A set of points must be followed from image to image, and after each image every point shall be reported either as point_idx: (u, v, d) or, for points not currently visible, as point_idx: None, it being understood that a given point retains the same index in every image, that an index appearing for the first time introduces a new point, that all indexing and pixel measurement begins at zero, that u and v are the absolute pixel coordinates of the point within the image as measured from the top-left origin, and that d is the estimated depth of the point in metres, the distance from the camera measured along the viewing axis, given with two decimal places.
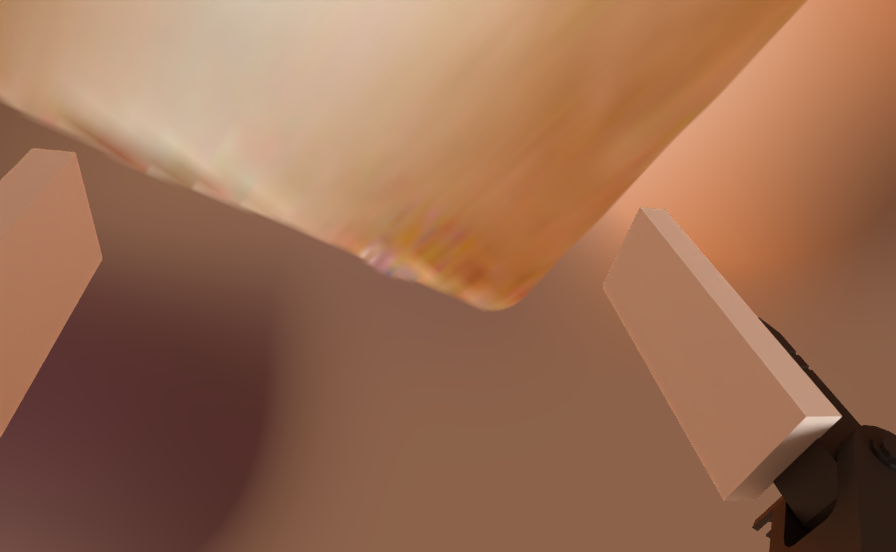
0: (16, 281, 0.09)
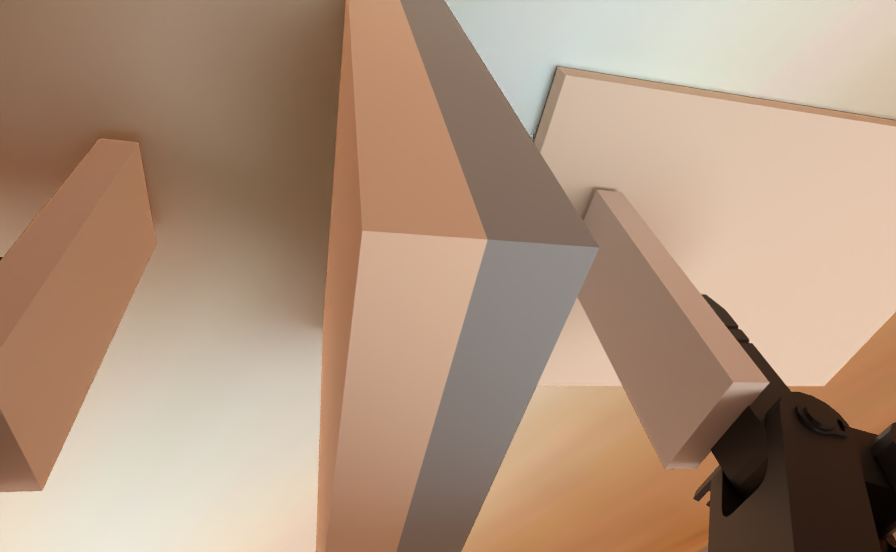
0: (96, 259, 0.10)
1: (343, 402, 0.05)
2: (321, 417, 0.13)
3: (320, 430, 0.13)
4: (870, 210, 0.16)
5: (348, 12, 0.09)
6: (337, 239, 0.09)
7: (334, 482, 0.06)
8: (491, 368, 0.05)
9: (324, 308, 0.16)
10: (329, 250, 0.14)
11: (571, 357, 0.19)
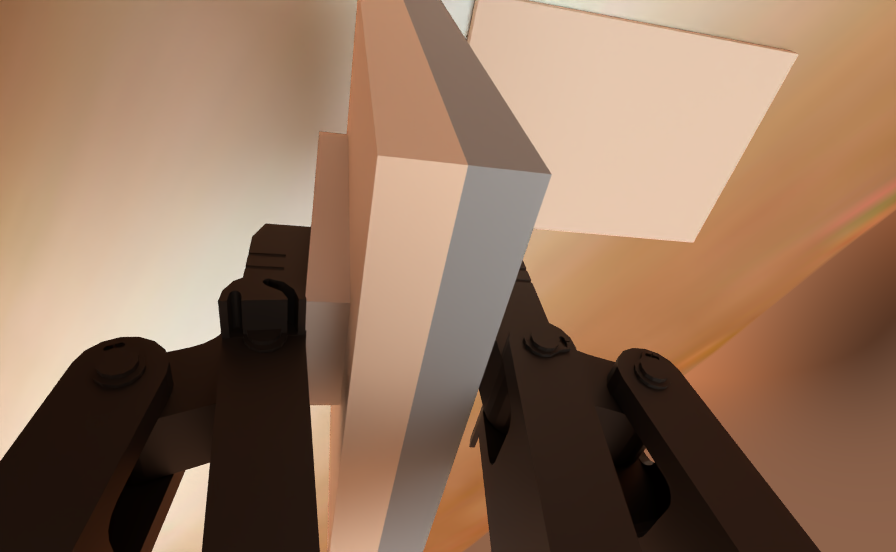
0: None
1: (360, 302, 0.07)
2: None
3: None
4: (688, 93, 0.26)
5: (360, 11, 0.11)
6: (351, 201, 0.10)
7: (351, 379, 0.08)
8: (474, 276, 0.07)
9: None
10: None
11: None
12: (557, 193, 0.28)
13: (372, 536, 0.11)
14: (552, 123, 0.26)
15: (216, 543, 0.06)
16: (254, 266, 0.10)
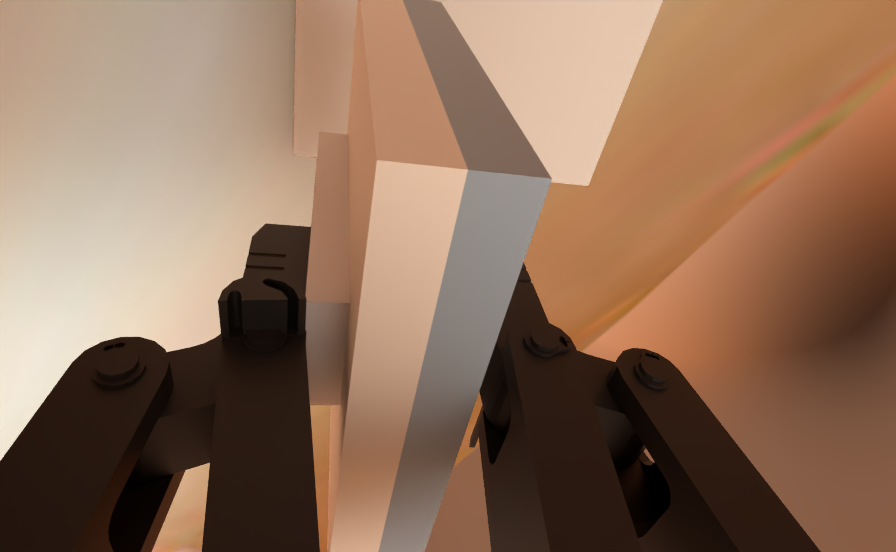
0: None
1: (360, 307, 0.07)
2: None
3: None
4: (558, 11, 0.24)
5: (360, 14, 0.11)
6: (350, 204, 0.10)
7: (351, 383, 0.08)
8: (474, 281, 0.07)
9: None
10: None
11: None
12: None
13: (372, 540, 0.11)
14: None
15: (216, 543, 0.06)
16: (254, 266, 0.10)
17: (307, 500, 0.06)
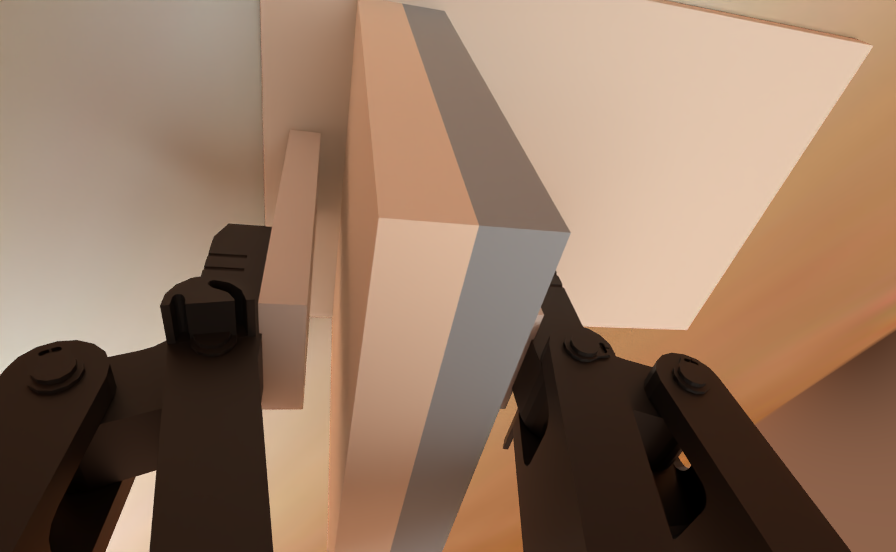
0: (314, 228, 0.12)
1: (360, 363, 0.06)
2: (332, 398, 0.14)
3: (331, 410, 0.14)
4: (680, 114, 0.15)
5: (360, 27, 0.10)
6: (350, 231, 0.10)
7: (350, 436, 0.07)
8: (484, 335, 0.06)
9: None
10: (339, 244, 0.15)
11: None
12: None
13: None
14: None
15: None
16: (213, 267, 0.10)
17: (260, 505, 0.06)
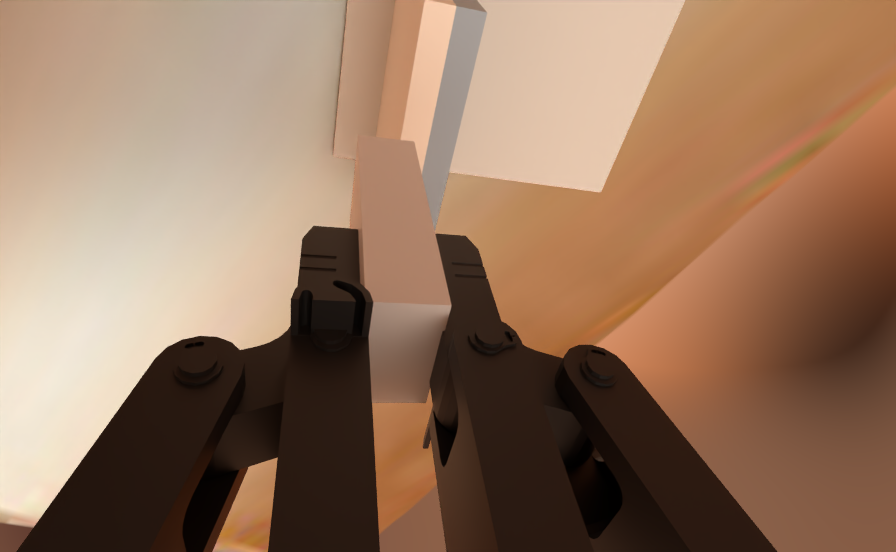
0: None
1: (413, 68, 0.17)
2: None
3: None
4: (580, 32, 0.26)
5: None
6: (399, 57, 0.21)
7: (405, 112, 0.18)
8: (458, 59, 0.17)
9: None
10: (383, 99, 0.26)
11: None
12: None
13: None
14: None
15: (283, 532, 0.06)
16: (307, 267, 0.10)
17: (368, 498, 0.06)
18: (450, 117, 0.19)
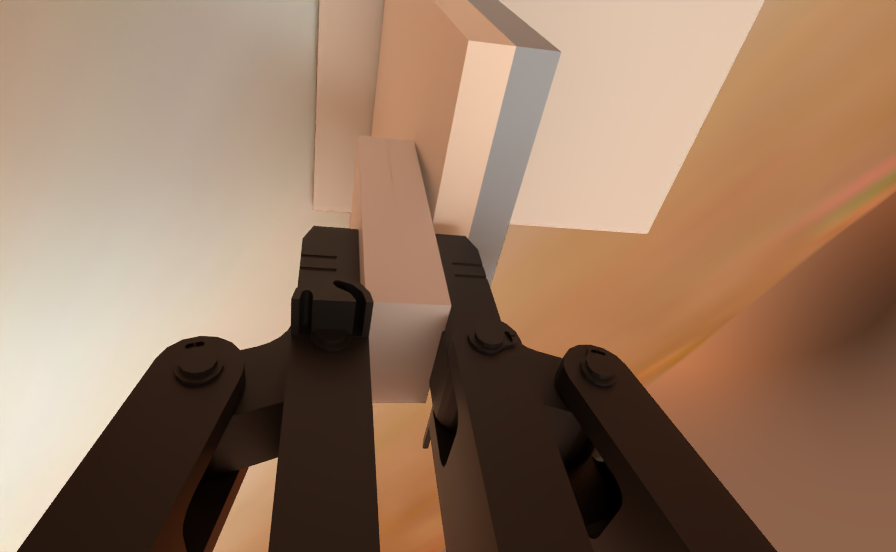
0: None
1: (449, 141, 0.11)
2: None
3: None
4: (627, 42, 0.20)
5: None
6: (407, 104, 0.15)
7: (437, 200, 0.12)
8: (515, 122, 0.12)
9: None
10: None
11: None
12: None
13: None
14: None
15: (283, 532, 0.06)
16: (308, 267, 0.10)
17: (369, 498, 0.06)
18: (500, 199, 0.13)
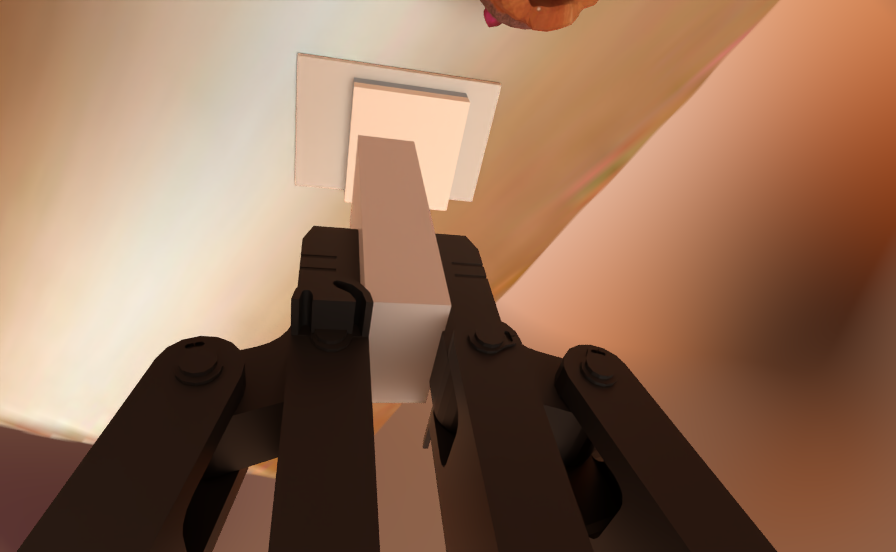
0: None
1: (464, 127, 0.43)
2: None
3: None
4: None
5: (383, 91, 0.40)
6: (414, 131, 0.42)
7: (460, 144, 0.44)
8: None
9: (347, 191, 0.45)
10: None
11: (338, 173, 0.46)
12: None
13: None
14: None
15: (283, 532, 0.06)
16: (307, 267, 0.10)
17: (368, 499, 0.06)
18: None
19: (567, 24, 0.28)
